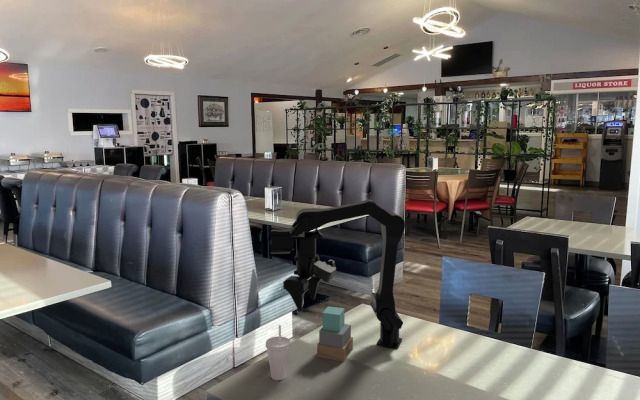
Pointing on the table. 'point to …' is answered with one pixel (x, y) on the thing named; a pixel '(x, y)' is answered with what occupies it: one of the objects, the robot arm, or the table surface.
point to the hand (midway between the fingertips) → (306, 304)
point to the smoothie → (278, 355)
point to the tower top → (335, 337)
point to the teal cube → (333, 319)
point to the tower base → (335, 351)
